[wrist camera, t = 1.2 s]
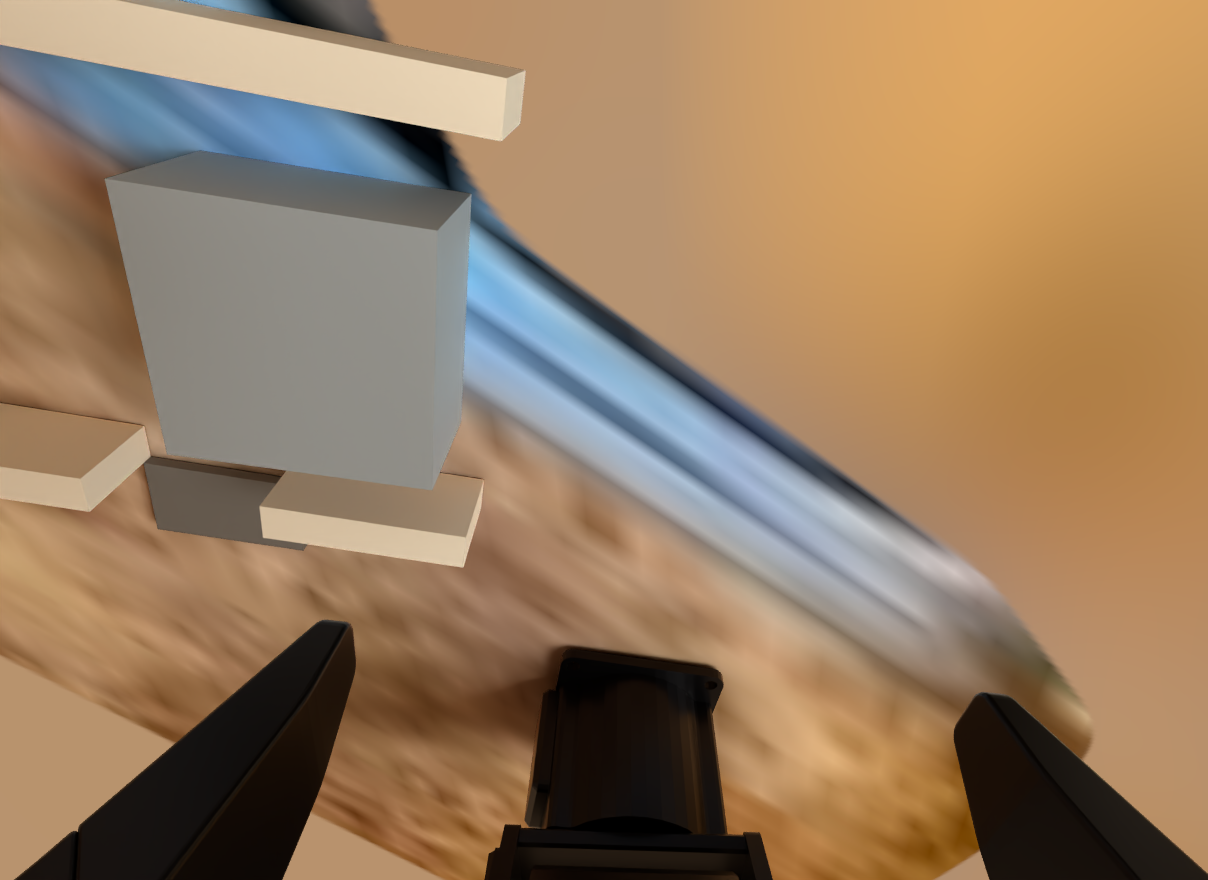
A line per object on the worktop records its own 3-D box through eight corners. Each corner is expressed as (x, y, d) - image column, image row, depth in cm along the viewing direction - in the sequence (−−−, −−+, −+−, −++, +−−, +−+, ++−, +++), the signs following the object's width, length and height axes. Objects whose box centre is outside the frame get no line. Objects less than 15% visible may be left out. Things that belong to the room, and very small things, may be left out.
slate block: (473, 192, 18) (437, 231, 15) (462, 417, 22) (432, 490, 18) (205, 149, 18) (104, 178, 14) (240, 385, 21) (167, 454, 18)
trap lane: (525, 69, 16) (506, 78, 14) (481, 507, 23) (463, 567, 21) (-376, -111, 15) (-583, -141, 12) (-137, 411, 22) (-238, 462, 19)
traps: (-163, -346, 13) (-185, -356, 13) (337, 537, 24) (333, 545, 24) (-392, -246, 14) (-419, -253, 13) (194, 563, 25) (188, 571, 25)
